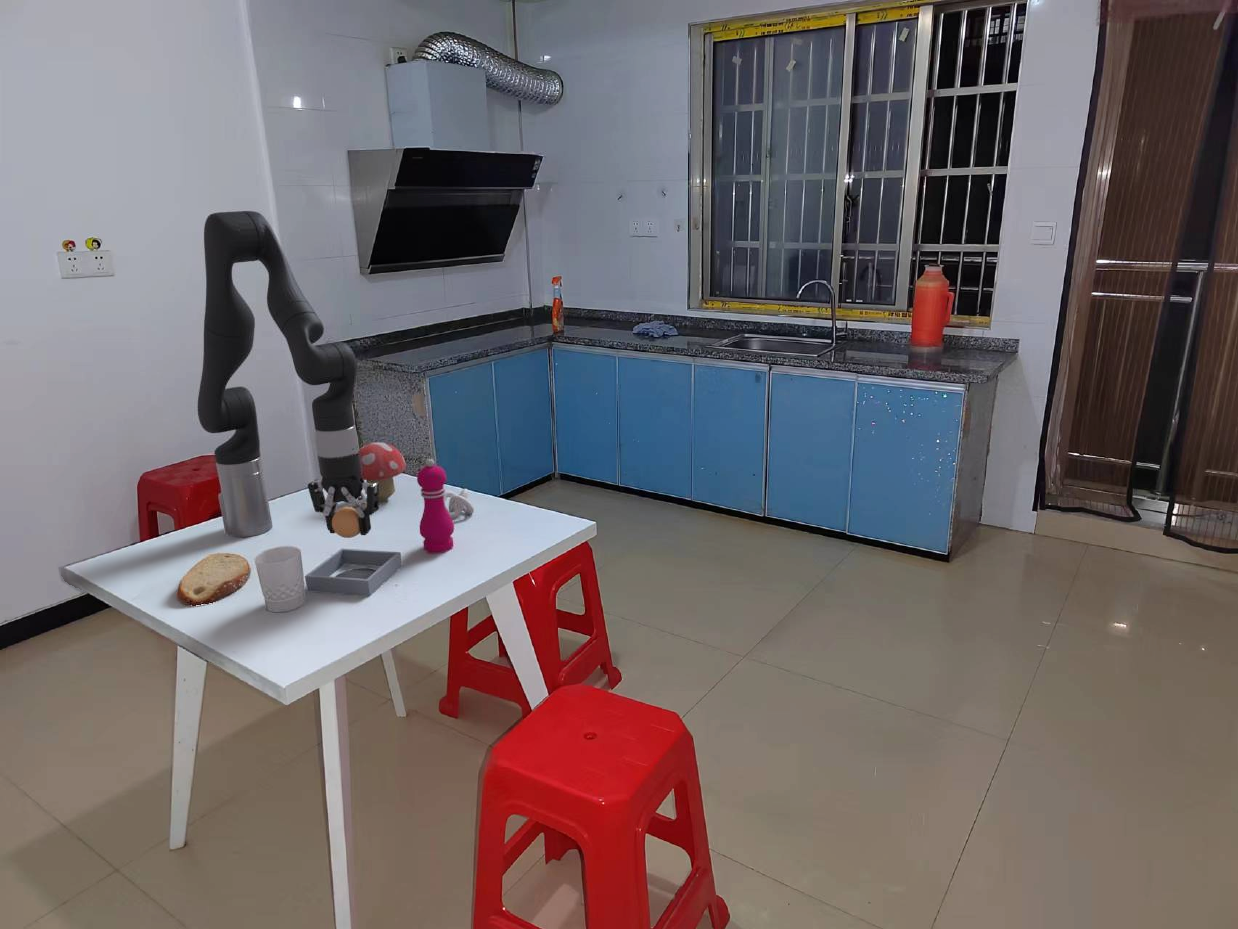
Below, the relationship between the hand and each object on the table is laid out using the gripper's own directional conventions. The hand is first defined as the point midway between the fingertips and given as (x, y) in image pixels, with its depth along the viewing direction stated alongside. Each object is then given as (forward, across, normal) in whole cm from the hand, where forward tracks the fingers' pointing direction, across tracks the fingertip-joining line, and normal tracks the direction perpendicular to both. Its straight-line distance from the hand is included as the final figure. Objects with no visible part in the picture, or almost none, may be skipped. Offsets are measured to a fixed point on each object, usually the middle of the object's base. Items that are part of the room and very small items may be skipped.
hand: (349, 532), depth 153 cm
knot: (+10, +6, +36) cm, 38 cm away
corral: (+10, 0, 0) cm, 10 cm away
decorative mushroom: (+10, -17, +43) cm, 47 cm away
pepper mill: (+10, +10, +17) cm, 22 cm away
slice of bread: (+10, -28, -6) cm, 31 cm away
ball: (-2, 0, 0) cm, 2 cm away
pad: (+10, 0, 0) cm, 10 cm away
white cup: (+10, -8, -12) cm, 17 cm away
